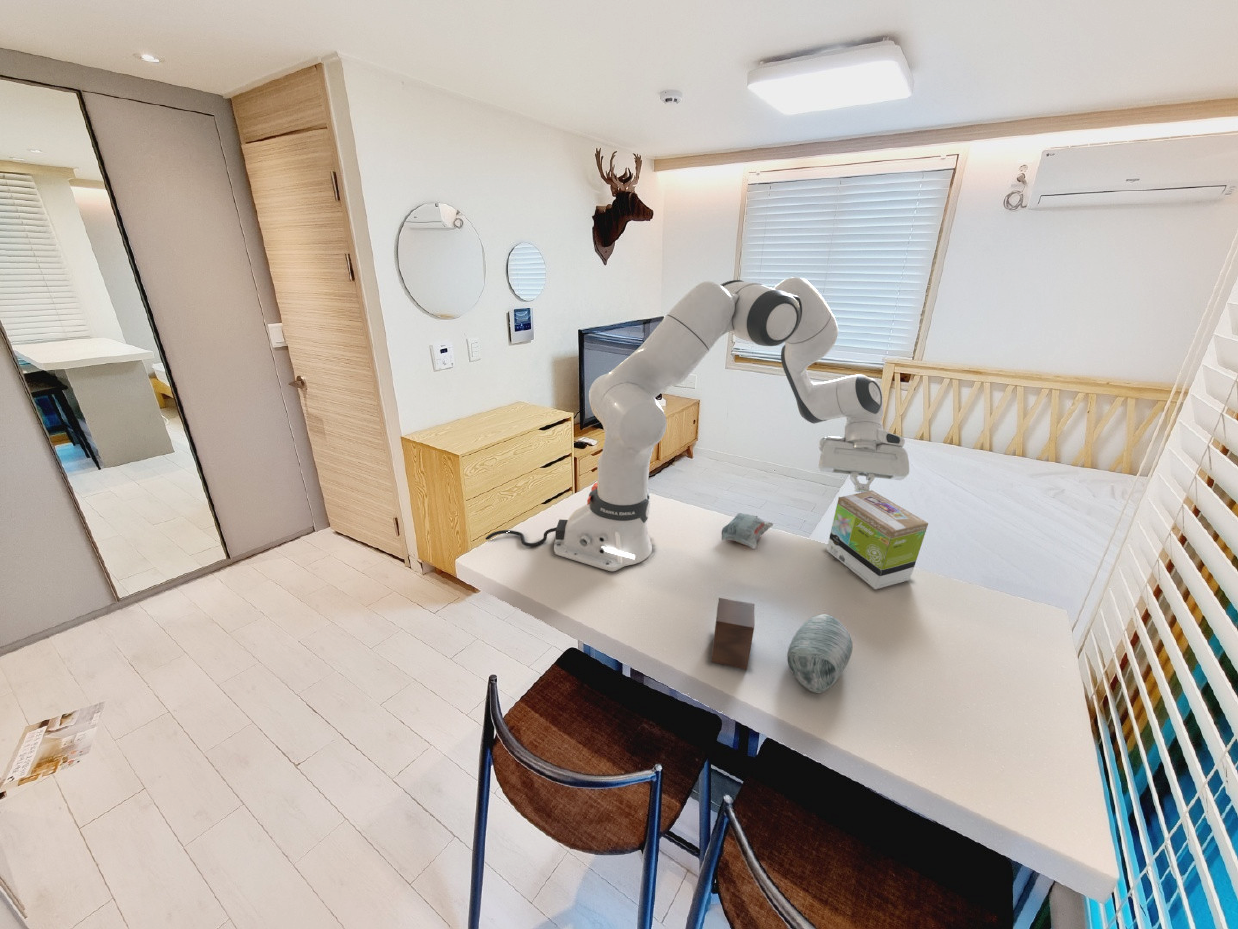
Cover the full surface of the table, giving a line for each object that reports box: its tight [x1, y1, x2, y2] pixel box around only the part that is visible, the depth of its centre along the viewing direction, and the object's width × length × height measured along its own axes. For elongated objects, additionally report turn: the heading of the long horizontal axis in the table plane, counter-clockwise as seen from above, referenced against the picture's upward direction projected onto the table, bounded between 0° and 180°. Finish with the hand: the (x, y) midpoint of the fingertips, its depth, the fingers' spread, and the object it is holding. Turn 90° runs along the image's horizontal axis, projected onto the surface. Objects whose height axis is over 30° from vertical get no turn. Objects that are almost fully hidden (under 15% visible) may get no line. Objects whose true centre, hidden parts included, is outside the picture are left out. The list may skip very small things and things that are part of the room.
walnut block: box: [710, 597, 755, 670], centre depth 85 cm, size 6×6×9 cm
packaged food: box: [721, 512, 774, 550], centre depth 119 cm, size 9×12×5 cm
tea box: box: [826, 489, 929, 590], centre depth 108 cm, size 15×10×15 cm
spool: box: [786, 613, 854, 694], centre depth 83 cm, size 14×10×10 cm
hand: (861, 491), depth 122 cm, fingers closed
